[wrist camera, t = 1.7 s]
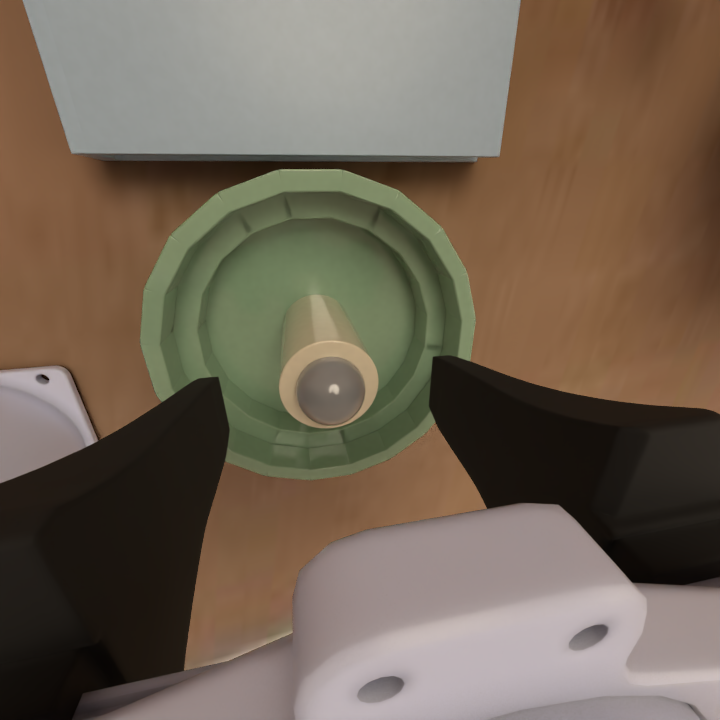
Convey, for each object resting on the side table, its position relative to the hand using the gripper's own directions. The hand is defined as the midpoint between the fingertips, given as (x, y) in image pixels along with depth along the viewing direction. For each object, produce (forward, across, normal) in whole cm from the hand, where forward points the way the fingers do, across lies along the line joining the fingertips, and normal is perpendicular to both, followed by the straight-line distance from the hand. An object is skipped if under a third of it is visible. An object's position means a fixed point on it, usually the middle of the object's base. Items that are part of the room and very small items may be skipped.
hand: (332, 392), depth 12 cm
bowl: (+7, 0, 0) cm, 7 cm away
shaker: (+7, 0, 0) cm, 7 cm away
